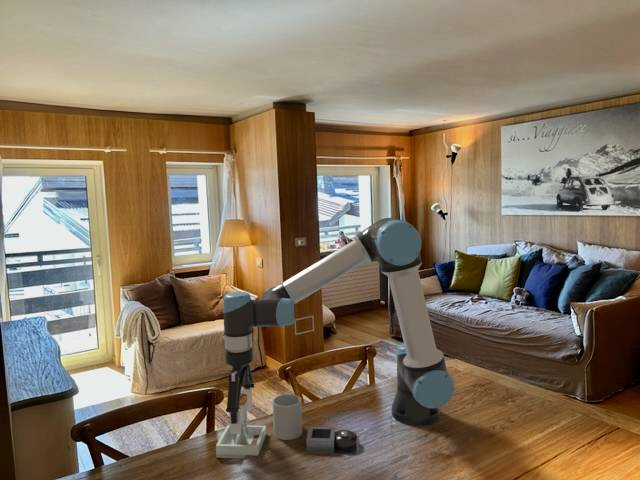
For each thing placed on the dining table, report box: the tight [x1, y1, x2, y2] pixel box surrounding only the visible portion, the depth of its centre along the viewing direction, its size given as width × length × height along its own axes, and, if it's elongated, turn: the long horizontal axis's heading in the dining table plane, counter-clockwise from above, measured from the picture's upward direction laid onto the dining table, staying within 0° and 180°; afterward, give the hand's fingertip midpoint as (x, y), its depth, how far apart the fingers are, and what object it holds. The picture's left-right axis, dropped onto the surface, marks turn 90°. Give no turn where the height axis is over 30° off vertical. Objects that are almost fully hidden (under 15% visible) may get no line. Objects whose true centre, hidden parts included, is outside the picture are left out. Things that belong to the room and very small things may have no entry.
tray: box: [215, 424, 267, 459], centre depth 136 cm, size 12×12×3 cm
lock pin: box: [233, 392, 248, 445], centre depth 136 cm, size 5×5×14 cm
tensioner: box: [305, 426, 360, 456], centre depth 135 cm, size 14×10×4 cm
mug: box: [272, 393, 303, 441], centre depth 143 cm, size 12×8×11 cm
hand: (241, 421), depth 136 cm, fingers open, 13 cm apart
